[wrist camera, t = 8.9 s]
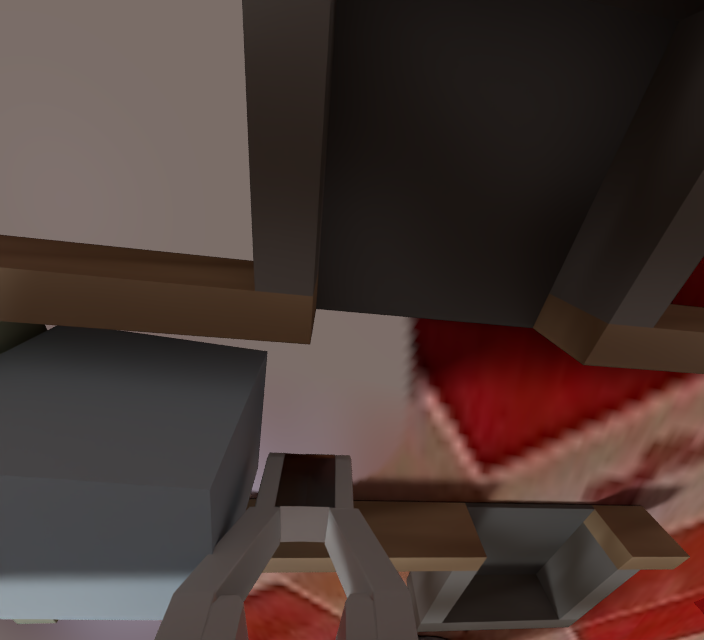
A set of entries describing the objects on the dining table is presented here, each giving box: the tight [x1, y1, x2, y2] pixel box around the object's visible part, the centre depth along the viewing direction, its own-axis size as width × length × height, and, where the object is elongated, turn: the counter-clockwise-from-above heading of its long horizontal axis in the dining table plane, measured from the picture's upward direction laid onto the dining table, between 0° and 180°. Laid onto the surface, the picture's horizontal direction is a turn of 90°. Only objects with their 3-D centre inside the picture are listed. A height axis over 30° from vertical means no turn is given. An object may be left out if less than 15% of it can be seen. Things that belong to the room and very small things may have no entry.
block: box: [0, 325, 267, 620], centre depth 8 cm, size 6×6×4 cm
